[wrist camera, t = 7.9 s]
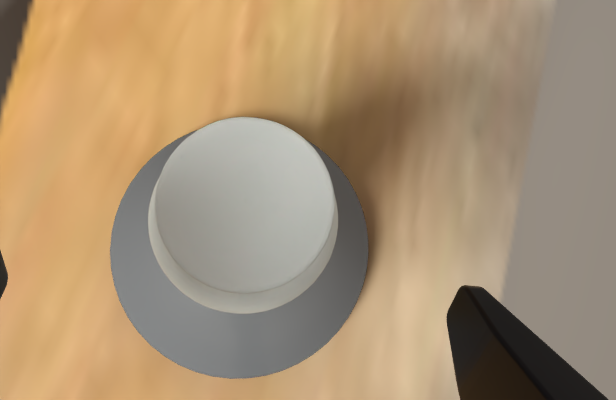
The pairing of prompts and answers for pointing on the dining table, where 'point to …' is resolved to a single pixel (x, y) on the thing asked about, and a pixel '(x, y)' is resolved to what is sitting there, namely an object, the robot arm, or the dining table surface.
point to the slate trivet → (231, 326)
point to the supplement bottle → (243, 216)
